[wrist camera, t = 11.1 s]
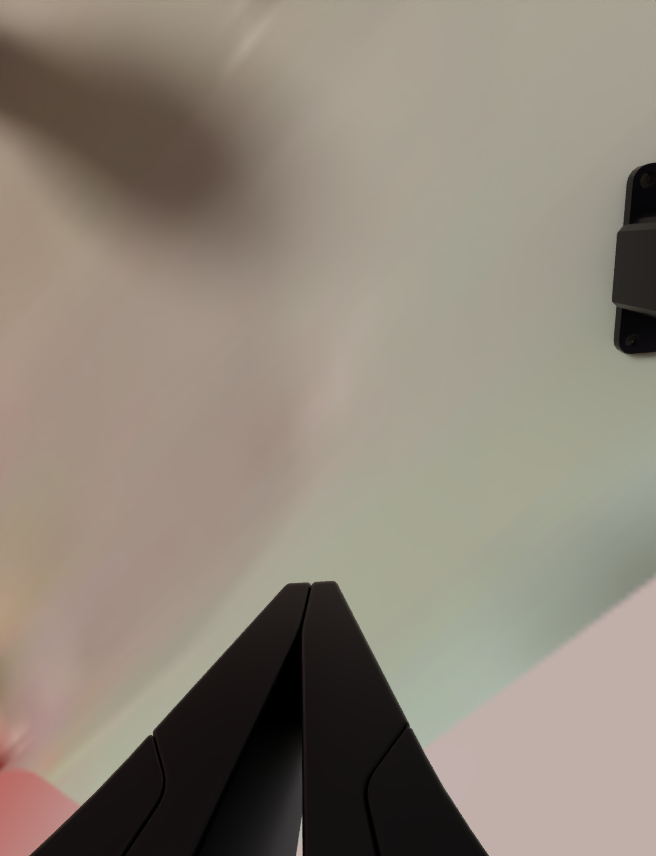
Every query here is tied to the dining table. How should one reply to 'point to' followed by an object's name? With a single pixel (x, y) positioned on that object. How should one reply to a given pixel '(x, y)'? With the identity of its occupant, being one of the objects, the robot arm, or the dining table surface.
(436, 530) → the dining table surface
